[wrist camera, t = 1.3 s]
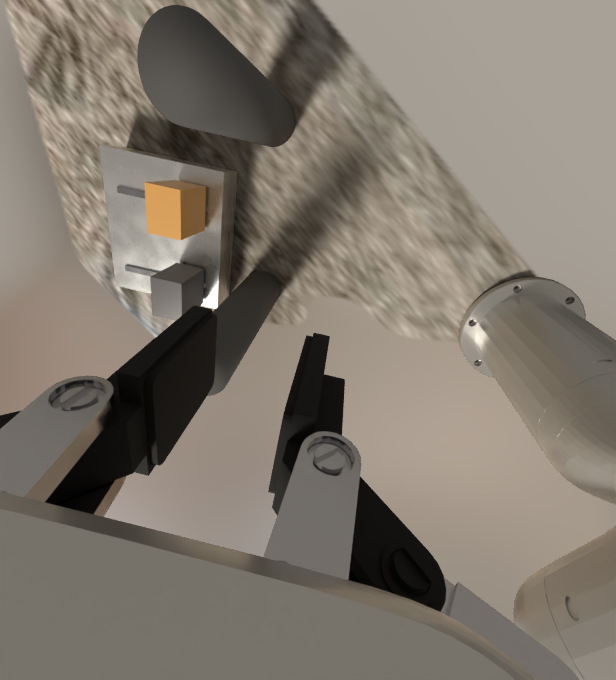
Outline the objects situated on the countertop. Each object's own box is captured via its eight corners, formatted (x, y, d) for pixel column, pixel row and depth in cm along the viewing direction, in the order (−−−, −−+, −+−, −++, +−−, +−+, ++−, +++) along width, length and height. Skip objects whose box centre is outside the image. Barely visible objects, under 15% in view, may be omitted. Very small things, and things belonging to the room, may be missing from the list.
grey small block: (203, 268, 34) (181, 284, 30) (203, 303, 36) (181, 322, 31) (176, 262, 34) (150, 276, 30) (177, 297, 36) (152, 315, 32)
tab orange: (206, 186, 30) (180, 190, 26) (204, 230, 32) (180, 240, 28) (175, 179, 30) (144, 182, 26) (175, 223, 32) (147, 232, 28)
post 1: (298, 96, 29) (232, 15, 14) (291, 151, 32) (226, 135, 16) (252, 86, 29) (133, -5, 14) (247, 141, 32) (141, 117, 16)
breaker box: (237, 171, 33) (222, 172, 29) (229, 296, 40) (216, 309, 36) (126, 147, 33) (97, 144, 30) (136, 275, 40) (114, 286, 36)
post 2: (282, 275, 38) (230, 352, 22) (277, 308, 40) (226, 401, 24) (246, 266, 38) (168, 338, 22) (243, 300, 40) (170, 388, 24)
